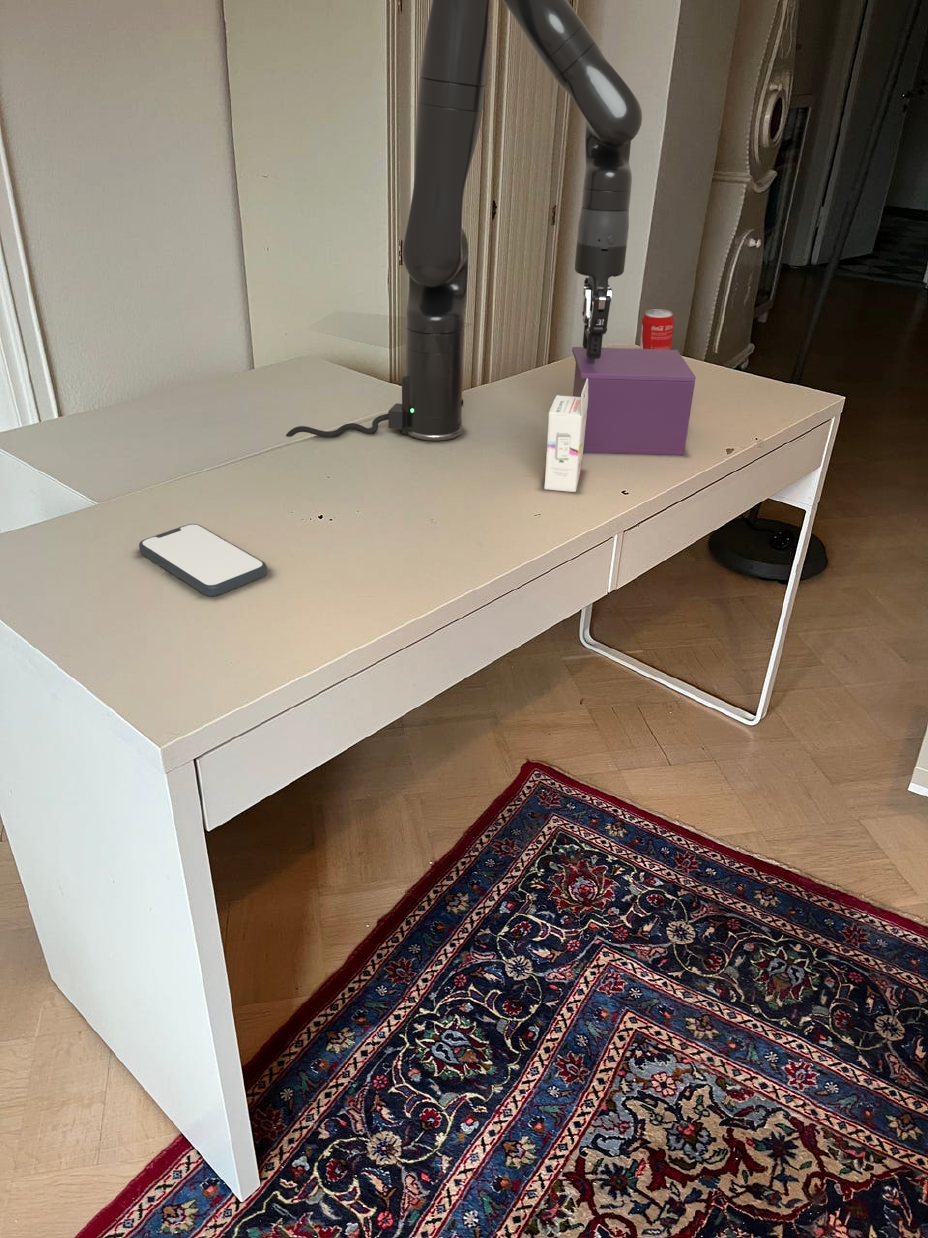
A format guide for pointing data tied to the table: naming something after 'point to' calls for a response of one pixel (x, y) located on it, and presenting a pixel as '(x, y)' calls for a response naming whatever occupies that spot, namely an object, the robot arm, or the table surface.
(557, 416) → the ink cartridge box
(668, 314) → the beverage can
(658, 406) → the box
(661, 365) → the lid
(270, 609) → the table surface
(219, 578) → the smartphone
